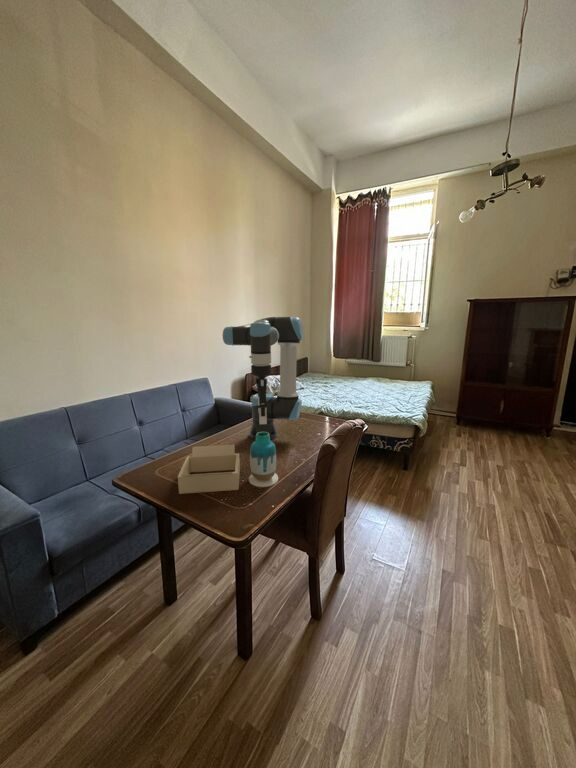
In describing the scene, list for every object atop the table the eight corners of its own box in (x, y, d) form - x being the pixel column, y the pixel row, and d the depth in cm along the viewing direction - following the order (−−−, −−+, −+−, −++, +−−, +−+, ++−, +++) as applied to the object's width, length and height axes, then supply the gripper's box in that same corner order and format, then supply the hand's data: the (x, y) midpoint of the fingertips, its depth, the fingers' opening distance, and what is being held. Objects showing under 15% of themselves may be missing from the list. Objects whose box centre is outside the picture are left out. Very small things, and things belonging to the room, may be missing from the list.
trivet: (248, 472, 133) (248, 471, 133) (276, 471, 134) (276, 469, 134) (248, 488, 121) (248, 486, 121) (279, 486, 123) (279, 484, 123)
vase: (270, 486, 121) (270, 440, 117) (246, 482, 124) (244, 437, 120) (280, 474, 131) (280, 430, 126) (257, 469, 134) (256, 427, 130)
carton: (189, 467, 138) (187, 446, 136) (240, 464, 141) (239, 444, 139) (176, 499, 114) (174, 475, 112) (238, 495, 116) (237, 471, 114)
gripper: (250, 359, 129) (252, 408, 134) (251, 370, 105) (253, 429, 110) (269, 359, 130) (269, 408, 135) (273, 370, 106) (274, 428, 110)
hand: (262, 418), depth 122 cm, fingers open, 13 cm apart
